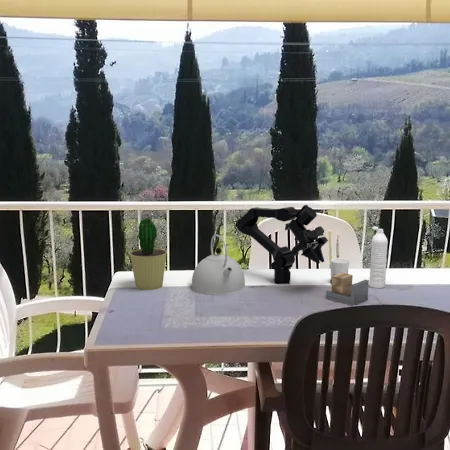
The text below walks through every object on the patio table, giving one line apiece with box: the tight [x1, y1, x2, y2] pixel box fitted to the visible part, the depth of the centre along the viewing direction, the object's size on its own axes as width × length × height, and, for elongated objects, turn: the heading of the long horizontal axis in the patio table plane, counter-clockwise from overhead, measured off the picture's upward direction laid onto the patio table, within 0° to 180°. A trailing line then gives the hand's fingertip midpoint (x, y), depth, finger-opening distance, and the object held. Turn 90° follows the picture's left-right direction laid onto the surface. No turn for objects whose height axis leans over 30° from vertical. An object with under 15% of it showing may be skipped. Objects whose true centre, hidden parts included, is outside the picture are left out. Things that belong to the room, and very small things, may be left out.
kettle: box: [191, 233, 246, 296], centre depth 231 cm, size 25×23×23 cm
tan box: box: [330, 273, 353, 296], centre depth 220 cm, size 6×7×8 cm
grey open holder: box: [325, 279, 370, 306], centre depth 218 cm, size 13×10×8 cm
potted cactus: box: [129, 217, 168, 291], centre depth 232 cm, size 15×15×30 cm
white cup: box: [330, 257, 350, 279], centre depth 240 cm, size 8×8×10 cm
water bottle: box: [369, 226, 389, 289], centre depth 234 cm, size 9×6×25 cm
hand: (321, 262), depth 225 cm, fingers open, 3 cm apart
